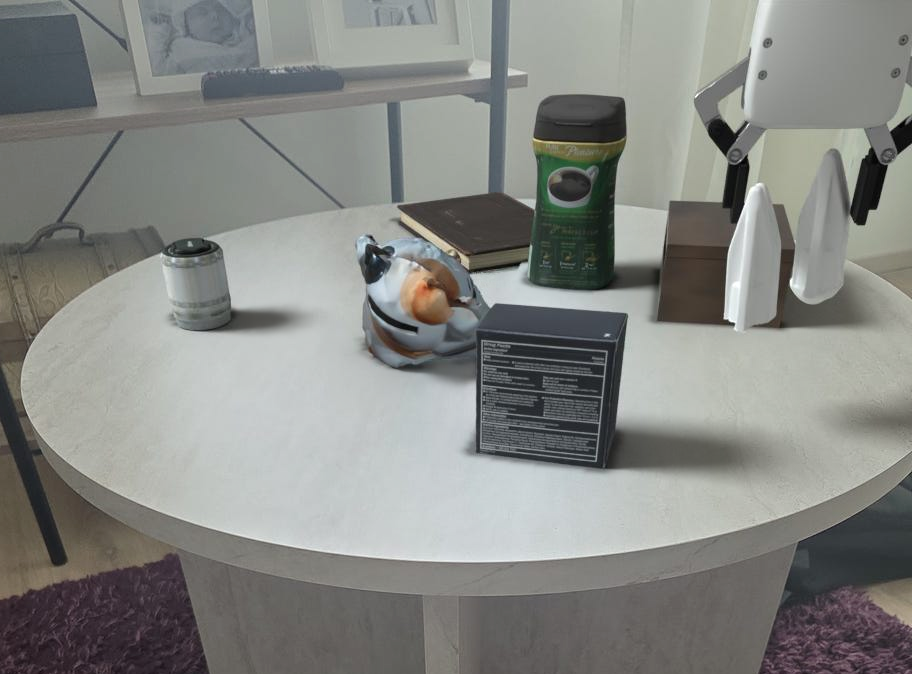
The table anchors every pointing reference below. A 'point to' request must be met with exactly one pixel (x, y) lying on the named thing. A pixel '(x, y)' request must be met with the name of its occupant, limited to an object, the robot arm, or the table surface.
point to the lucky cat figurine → (417, 302)
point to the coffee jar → (576, 190)
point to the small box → (548, 383)
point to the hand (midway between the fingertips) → (795, 218)
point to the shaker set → (815, 248)
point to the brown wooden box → (708, 263)
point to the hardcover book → (474, 228)
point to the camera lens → (197, 283)
